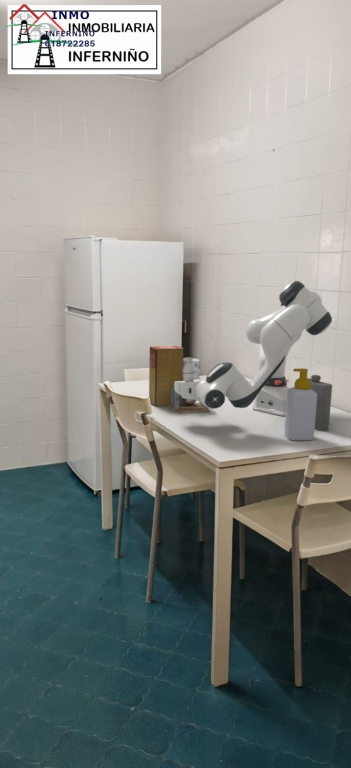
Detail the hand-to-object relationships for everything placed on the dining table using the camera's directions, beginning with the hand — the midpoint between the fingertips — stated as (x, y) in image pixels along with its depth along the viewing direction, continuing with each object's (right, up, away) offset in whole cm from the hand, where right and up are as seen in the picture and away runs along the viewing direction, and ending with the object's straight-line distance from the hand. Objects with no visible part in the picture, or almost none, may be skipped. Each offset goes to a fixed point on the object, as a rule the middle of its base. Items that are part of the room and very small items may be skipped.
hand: (196, 382), depth 229 cm
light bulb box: (-1, +2, +82) cm, 82 cm away
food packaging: (-13, -9, +24) cm, 29 cm away
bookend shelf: (-3, -11, +14) cm, 18 cm away
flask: (+45, -17, -6) cm, 49 cm away
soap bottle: (+36, -20, -22) cm, 47 cm away
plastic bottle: (-3, -9, +16) cm, 19 cm away
